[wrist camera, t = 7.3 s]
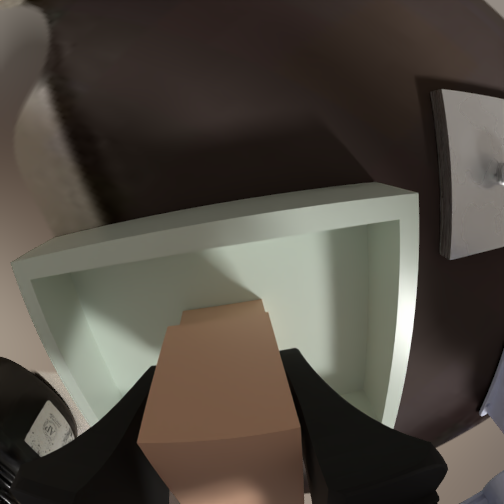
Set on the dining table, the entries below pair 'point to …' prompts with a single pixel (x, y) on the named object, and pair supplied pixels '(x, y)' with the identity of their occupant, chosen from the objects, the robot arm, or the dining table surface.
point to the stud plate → (469, 171)
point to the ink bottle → (28, 423)
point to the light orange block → (223, 411)
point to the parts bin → (236, 288)
